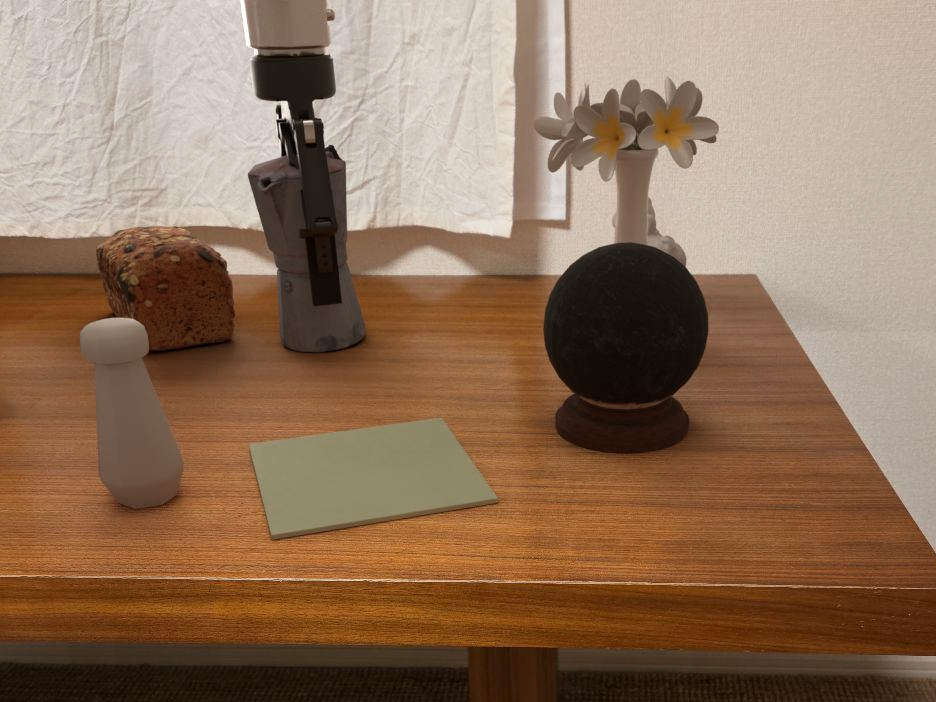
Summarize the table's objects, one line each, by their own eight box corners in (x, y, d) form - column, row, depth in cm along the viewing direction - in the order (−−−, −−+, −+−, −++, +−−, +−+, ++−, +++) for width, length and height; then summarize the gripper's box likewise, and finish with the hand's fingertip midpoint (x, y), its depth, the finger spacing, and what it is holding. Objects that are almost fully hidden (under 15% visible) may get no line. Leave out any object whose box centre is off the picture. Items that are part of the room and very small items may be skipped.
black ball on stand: (510, 428, 84) (507, 246, 77) (608, 385, 93) (613, 218, 85) (637, 473, 77) (647, 276, 69) (730, 422, 85) (748, 242, 78)
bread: (242, 341, 104) (227, 243, 100) (135, 358, 100) (114, 257, 95) (200, 297, 119) (185, 210, 114) (104, 311, 114) (84, 220, 109)
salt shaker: (92, 495, 74) (49, 322, 67) (166, 471, 77) (131, 304, 71) (128, 522, 70) (86, 341, 64) (203, 496, 74) (171, 322, 67)
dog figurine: (637, 279, 125) (641, 189, 120) (691, 306, 115) (697, 209, 110) (599, 283, 123) (601, 193, 118) (650, 311, 113) (654, 213, 108)
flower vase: (575, 315, 112) (578, 67, 100) (729, 344, 103) (753, 75, 91) (508, 347, 102) (502, 78, 90) (671, 382, 94) (689, 88, 81)
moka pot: (246, 358, 100) (212, 144, 90) (312, 313, 113) (290, 121, 103) (335, 366, 98) (311, 147, 88) (392, 319, 111) (377, 124, 101)
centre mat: (272, 540, 68) (271, 535, 68) (249, 448, 81) (248, 443, 81) (498, 502, 73) (498, 497, 72) (442, 421, 86) (441, 417, 86)
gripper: (355, 59, 83) (377, 316, 94) (312, 42, 103) (334, 256, 114) (262, 62, 81) (296, 325, 92) (236, 44, 101) (267, 262, 111)
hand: (317, 287), depth 103 cm, fingers open, 12 cm apart
